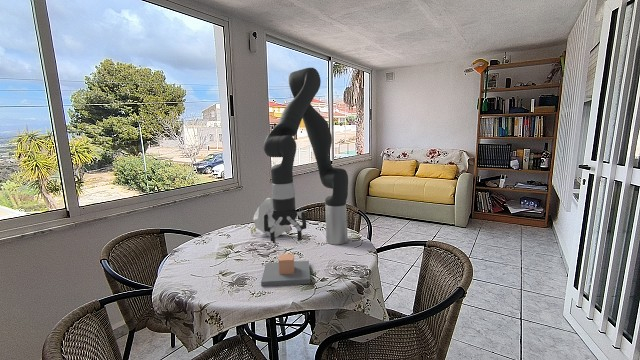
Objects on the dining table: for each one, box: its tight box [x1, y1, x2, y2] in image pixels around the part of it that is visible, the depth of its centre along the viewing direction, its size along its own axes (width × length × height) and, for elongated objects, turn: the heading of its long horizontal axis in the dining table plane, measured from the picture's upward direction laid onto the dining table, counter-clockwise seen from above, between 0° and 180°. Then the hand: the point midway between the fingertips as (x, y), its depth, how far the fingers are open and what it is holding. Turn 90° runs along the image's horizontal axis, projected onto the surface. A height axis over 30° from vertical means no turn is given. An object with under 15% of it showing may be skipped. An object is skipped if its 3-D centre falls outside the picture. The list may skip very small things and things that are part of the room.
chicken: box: [250, 197, 293, 238], centre depth 144 cm, size 7×19×20 cm
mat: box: [260, 260, 311, 287], centre depth 105 cm, size 16×14×2 cm
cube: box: [278, 253, 295, 274], centre depth 104 cm, size 5×5×5 cm
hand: (286, 241), depth 103 cm, fingers open, 8 cm apart
